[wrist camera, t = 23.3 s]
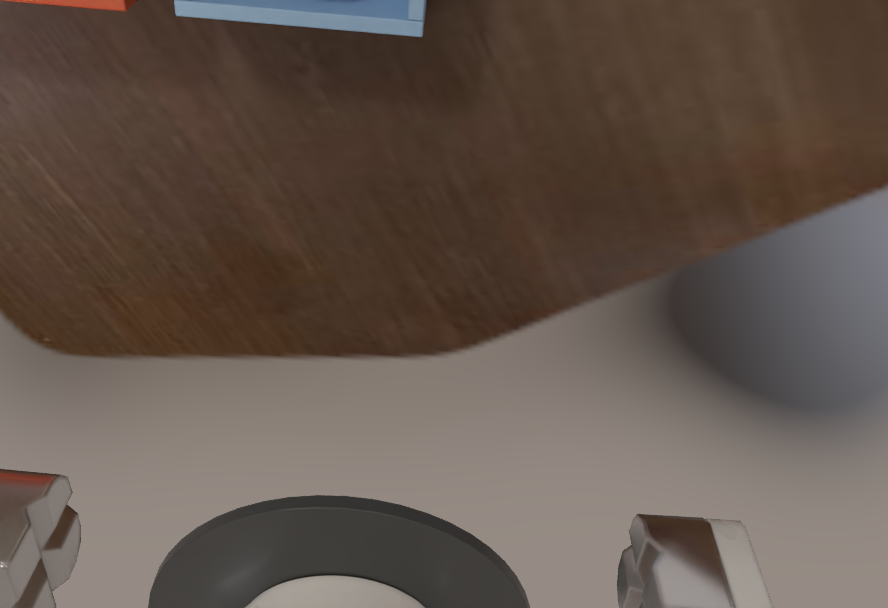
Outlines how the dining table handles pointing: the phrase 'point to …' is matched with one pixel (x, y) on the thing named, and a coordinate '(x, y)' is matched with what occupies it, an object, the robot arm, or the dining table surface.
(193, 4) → the blue bin
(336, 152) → the dining table surface
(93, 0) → the red bin
